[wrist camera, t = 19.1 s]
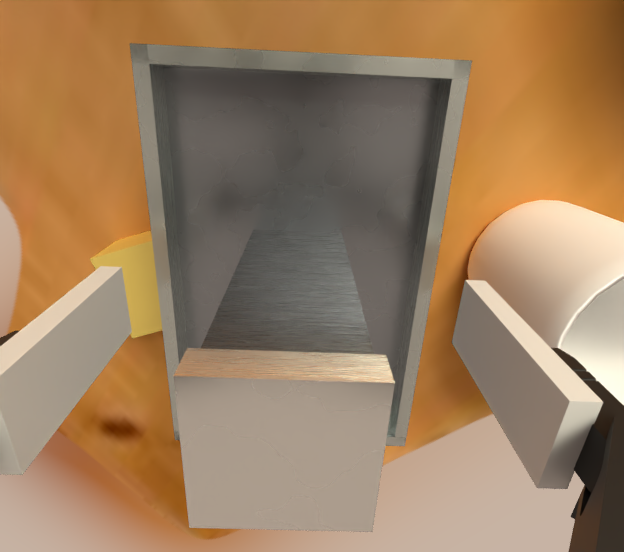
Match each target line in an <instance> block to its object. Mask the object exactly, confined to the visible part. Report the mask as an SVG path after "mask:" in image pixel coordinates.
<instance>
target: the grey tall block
mask: <svg viewBox="0 0 624 552" xmlns="http://www.w3.org/2000/svg"><path fill="white" fill-rule="evenodd" d="M173 378H174V388H175V397H176V406H177V416H178V425H179V435H180V444H181V454H182V463H183V473H184V482H185V492H186V501H187V510H188V520H189V528H222V529H267V530H270V529H271V530H310V531H356V532H372V530H373V524H374V517H375V510H376V504H377V497H378V491H379V484H380V478H381V471H382V465H383V458H384V452H385V445H386V438H387V432H388V425H389V419H390V412H391V405H392V399H393V392H394V386H395V382H394V379H393V375H392V372H391V369H390V366H389V363H388V359H387V356H386V355H379V354H374V352H373V348H372V344H371V341H370V337H369V333H368V329H367V326H366V322H365V318H364V314H363V310H362V307H361V303H360V299H359V295H358V292H357V288H356V284H355V280H354V276H353V273H352V269H351V265H350V261H349V258H348V254H347V250H346V246H345V242H344V239H343V235H342V233H328V232H304V231H279V230H255V229H253V231H252V234H251V236H250V238H249V240H248V243H247V245H246V247H245V249H244V252H243V254H242V256H241V258H240V261H239V263H238V265H237V267H236V270H235V272H234V274H233V276H232V279H231V281H230V283H229V285H228V288H227V290H226V292H225V294H224V297H223V299H222V301H221V303H220V305H219V308H218V310H217V312H216V314H215V317H214V319H213V321H212V323H211V326H210V328H209V330H208V332H207V335H206V337H205V339H204V341H203V344H202V346H201V348H187V350H186V352H185V354H184V356H183V358H182V360H181V362H180V364H179V366H178V368H177V370H176V372H175V374H174V376H173Z"/></svg>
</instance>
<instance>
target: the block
mask: <svg viewBox="0 0 624 552" xmlns="http://www.w3.org/2000/svg"><path fill="white" fill-rule="evenodd" d="M90 260H91V262H92V264H93V266H94V268H95V270H97V269H98V268H99V267H100V266H109V267H122V272H123V278H124V284H125V291H126V297H127V304H128V310H129V317H130V323H131V329H132V332H131V333H130V335H131V337H132V338H136V337H140V336H144V335H147V334H151V333H155V332H158V331H162V321H161V313H160V304H159V295H158V286H157V278H156V269H155V260H154V251H153V243H152V234H151V230H150V231H147V232H143V233H140V234H136V235H133V236H130V237H126V238H123V239H120V240H116V241H115V242H114V243H112V244H111V245H109V246H108V247H106V248H105V249H103V250H102V251H101V252H99V253H98V254H96V255H95V256H93V257H92V258H91V259H90Z"/></svg>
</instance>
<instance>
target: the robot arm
mask: <svg viewBox="0 0 624 552" xmlns="http://www.w3.org/2000/svg"><path fill="white" fill-rule="evenodd" d="M131 332H132V329H131V323H130V317H129V310H128V304H127V297H126V291H125V284H124V278H123V272H122V267H109V266H100V267H99V268H98V269H97V270H95V271H94V272H93V273H92V274H90V275H89V276H88V277H87V278H85V279H84V280H83V281H82V282H80V283H79V284H78V285H77V286H75V287H74V288H73V289H72V290H70V291H69V292H68V293H67V294H65V295H64V296H63V297H62V298H60V299H59V300H58V301H57V302H55V303H54V304H53V305H52V306H50V307H49V308H48V309H47V310H45V311H44V312H43V313H42V314H40V315H39V316H38V317H37V318H35V319H34V320H33V321H32V322H30V323H29V324H28V325H27V326H25V327H24V328H23V329H22V330H20V331H14V332H12V333H10V334H8V335H6V336H3V337H1V338H0V474H7V475H8V474H10V475H11V474H12V475H23V474H24V472H25V471H26V470H27V468H28V467H29V466H30V464H31V463H32V462H33V460H34V459H35V458H36V457H37V455H38V454H39V453H40V451H41V450H42V449H43V447H44V446H45V445H46V443H47V442H48V441H49V439H50V438H51V437H52V436H53V434H54V432H56V430H57V429H58V428H59V426H60V425H61V424H62V423H63V421H64V420H65V419H66V417H67V416H68V415H69V413H70V412H71V411H72V409H73V408H74V407H75V405H76V404H77V403H78V402H79V400H80V399H81V398H82V396H83V395H84V394H85V392H86V391H87V390H88V388H89V387H90V386H91V385H92V383H93V382H94V381H95V379H96V378H97V377H98V375H99V374H100V373H101V371H102V370H103V369H104V367H105V366H106V365H107V364H108V362H109V361H110V360H111V358H112V357H113V356H114V354H115V353H116V352H117V350H118V349H119V348H120V347H121V345H122V344H123V343H124V341H125V340H126V339H127V337H128V336H129V335H130V333H131ZM452 344H453V346H454V347H455V349H456V351H457V352H458V354H459V356H460V357H461V359H462V361H463V363H464V364H465V366H466V368H467V369H468V371H469V373H470V375H471V376H472V378H473V380H474V381H475V383H476V385H477V386H478V388H479V390H480V392H481V393H482V395H483V397H484V398H485V400H486V402H487V404H488V405H489V407H490V409H491V410H492V412H493V414H494V415H495V417H496V418H497V421H498V422H499V424H500V426H501V427H502V429H503V431H504V433H505V434H506V436H507V438H508V439H509V441H510V442H511V444H512V446H513V448H514V450H515V451H516V453H517V455H518V456H519V458H520V460H521V461H522V463H523V465H524V466H525V468H526V470H527V472H528V473H529V475H530V477H531V478H532V480H533V482H534V483H535V485H536V487H537V488H554V489H567V488H568V486H569V483H570V481H571V478H572V476H573V474H574V471H575V472H576V473H577V475H578V476H579V477H580V479H581V480H582V482H583V483H584V484H585V486H584V488H583V490H582V492H581V494H580V497H579V499H578V501H577V503H576V506H575V508H574V510H573V513H572V515H571V517H572V518H574V519H575V523H574V528H573V533H572V538H571V543H570V548H569V552H624V405H623V404H622V403H620V402H619V401H618V400H617V399H616V398H615V397H614V396H613V395H612V394H611V393H610V392H609V391H608V390H607V389H606V388H605V387H604V386H603V385H602V384H601V383H600V382H599V381H596V378H595V377H594V376H593V375H592V374H591V373H590V372H588V371H586V368H585V367H584V366H582V365H581V364H580V363H579V362H578V361H577V360H576V359H575V358H574V357H572V356H571V355H569V354H567V353H566V352H564V351H562V350H561V349H559V348H550V347H549V346H548V345H547V344H546V343H545V342H544V341H543V339H542V338H541V337H540V336H539V335H538V334H537V333H536V332H535V331H534V330H533V329H532V328H531V327H530V326H529V325H528V324H527V323H526V322H525V321H524V320H523V319H522V318H521V317H520V316H519V315H518V314H517V313H516V312H515V311H514V310H513V309H512V308H511V307H510V306H509V305H508V303H507V302H506V301H505V300H504V299H503V298H502V297H501V296H500V295H499V294H498V293H497V292H496V291H495V290H494V289H493V288H492V287H491V286H490V285H489V284H488V283H487V282H486V281H479V280H465V283H464V288H463V292H462V297H461V302H460V306H459V311H458V316H457V320H456V325H455V330H454V334H453V339H452Z"/></svg>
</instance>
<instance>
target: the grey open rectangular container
mask: <svg viewBox="0 0 624 552" xmlns="http://www.w3.org/2000/svg"><path fill="white" fill-rule="evenodd" d="M130 50H131V59H132V68H133V76H134V85H135V94H136V103H137V111H138V120H139V129H140V138H141V146H142V155H143V164H144V173H145V181H146V190H147V199H148V208H149V216H150V225H151V234H152V243H153V251H154V260H155V269H156V278H157V286H158V295H159V304H160V313H161V321H162V330H163V339H164V348H165V356H166V365H167V374H168V383H169V391H170V400H171V409H172V418H173V426H174V435H175V440H180V435H179V425H178V416H177V406H176V397H175V388H174V378H173V376H174V374H175V372H176V370H177V368H178V366H179V364H180V362H181V360H182V358H183V356H184V354H185V352H186V350H187V348H201V346H202V344H203V341H204V339H205V337H206V335H207V332H208V330H209V328H210V326H211V323H212V321H213V319H214V317H215V314H216V312H217V310H218V308H219V305H220V303H221V301H222V299H223V297H224V294H225V292H226V290H227V288H228V285H229V283H230V281H231V279H232V276H233V274H234V272H235V270H236V267H237V265H238V263H239V261H240V258H241V256H242V254H243V252H244V249H245V247H246V245H247V243H248V240H249V238H250V236H251V234H252V231H253V229H255V230H279V231H304V232H328V233H342V235H343V239H344V242H345V246H346V250H347V254H348V258H349V261H350V265H351V269H352V273H353V276H354V280H355V284H356V288H357V292H358V295H359V299H360V303H361V307H362V310H363V314H364V318H365V322H366V326H367V329H368V333H369V337H370V341H371V344H372V348H373V352H374V354H379V355H386V356H387V359H388V363H389V366H390V369H391V372H392V375H393V379H394V382H395V386H394V392H393V399H392V405H391V412H390V419H389V425H388V432H387V438H386V445H385V446H405V442H406V436H407V430H408V425H409V419H410V413H411V408H412V402H413V396H414V390H415V385H416V379H417V373H418V367H419V362H420V356H421V350H422V344H423V339H424V333H425V327H426V321H427V316H428V310H429V304H430V298H431V293H432V287H433V281H434V276H435V270H436V264H437V258H438V253H439V247H440V241H441V235H442V230H443V224H444V218H445V212H446V207H447V201H448V195H449V189H450V184H451V178H452V172H453V167H454V161H455V155H456V149H457V144H458V138H459V132H460V126H461V121H462V115H463V109H464V103H465V98H466V92H467V86H468V80H469V75H470V69H471V63H472V61H469V60H449V59H429V58H409V57H389V56H370V55H350V54H330V53H310V52H290V51H271V50H251V49H231V48H211V47H192V46H172V45H152V44H132V43H130Z"/></svg>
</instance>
